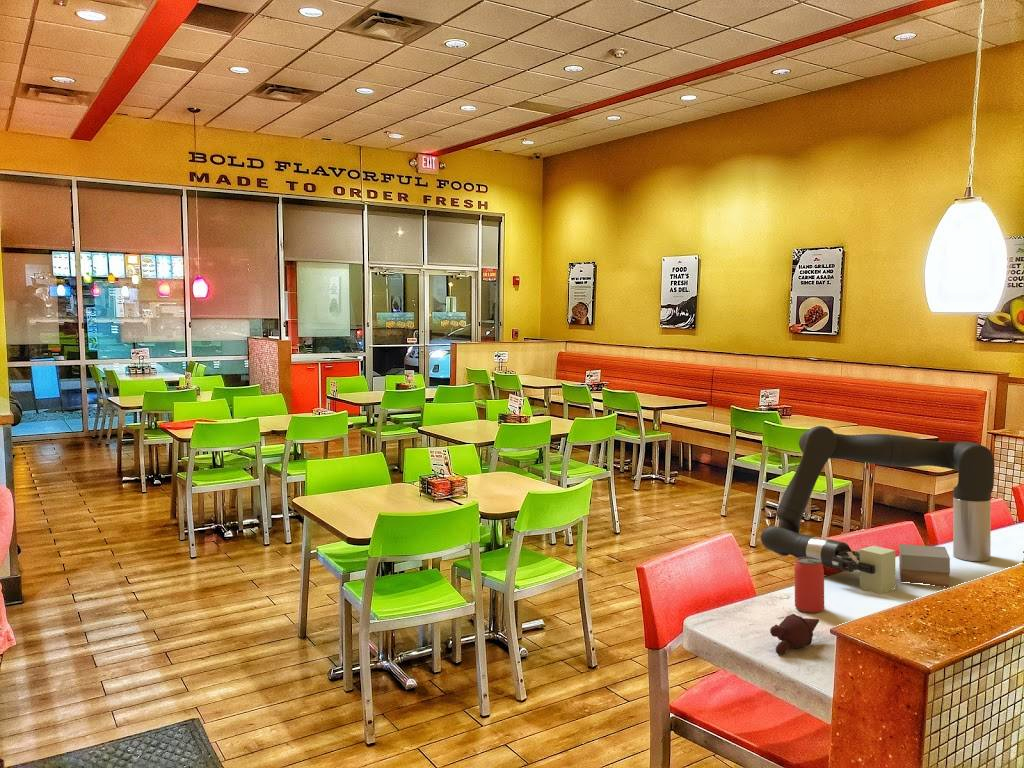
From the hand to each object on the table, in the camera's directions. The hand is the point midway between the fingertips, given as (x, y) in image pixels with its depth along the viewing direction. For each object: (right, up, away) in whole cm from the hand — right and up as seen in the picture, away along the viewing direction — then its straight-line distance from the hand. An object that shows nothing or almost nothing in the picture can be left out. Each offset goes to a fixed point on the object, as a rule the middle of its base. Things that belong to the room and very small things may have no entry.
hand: (884, 566), depth 194 cm
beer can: (-24, -8, -12) cm, 27 cm away
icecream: (-35, -9, -33) cm, 49 cm away
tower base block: (+14, -6, +8) cm, 17 cm away
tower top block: (+14, -2, +8) cm, 16 cm away
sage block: (-1, -6, +2) cm, 6 cm away
